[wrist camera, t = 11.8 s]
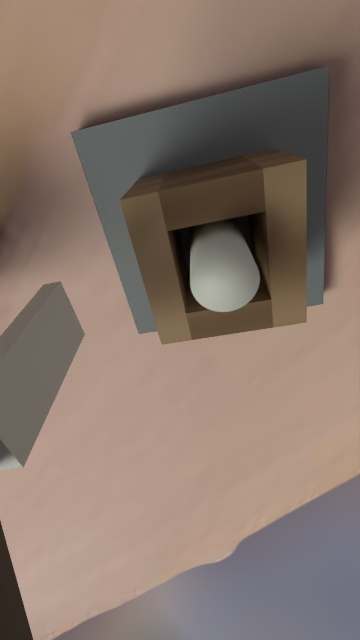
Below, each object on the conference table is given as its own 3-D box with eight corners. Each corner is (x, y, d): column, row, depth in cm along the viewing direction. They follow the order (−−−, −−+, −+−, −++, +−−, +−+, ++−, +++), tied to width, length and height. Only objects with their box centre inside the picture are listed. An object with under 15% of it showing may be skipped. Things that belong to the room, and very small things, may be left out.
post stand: (77, 131, 19) (-3, 138, 11) (321, 68, 17) (432, 23, 9) (140, 325, 26) (119, 412, 18) (317, 296, 24) (378, 379, 16)
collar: (138, 179, 19) (119, 200, 14) (273, 148, 18) (306, 159, 13) (167, 295, 23) (161, 344, 18) (279, 276, 22) (306, 322, 17)
